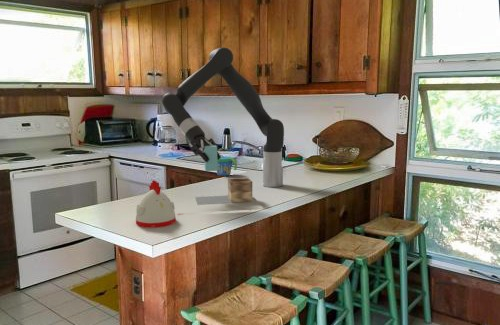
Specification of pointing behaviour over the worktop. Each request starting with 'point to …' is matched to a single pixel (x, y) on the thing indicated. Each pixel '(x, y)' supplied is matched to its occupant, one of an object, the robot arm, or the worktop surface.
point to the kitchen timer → (155, 208)
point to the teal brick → (211, 158)
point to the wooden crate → (240, 189)
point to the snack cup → (225, 165)
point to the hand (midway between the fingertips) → (213, 159)
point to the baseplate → (215, 200)
